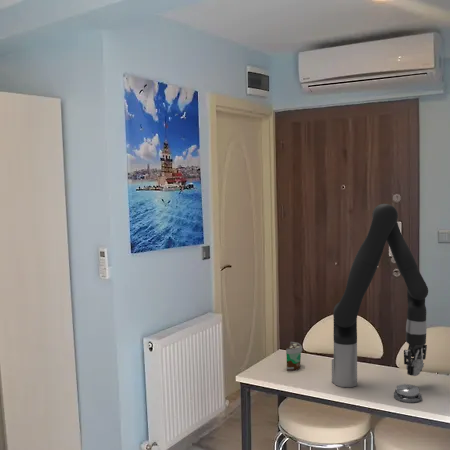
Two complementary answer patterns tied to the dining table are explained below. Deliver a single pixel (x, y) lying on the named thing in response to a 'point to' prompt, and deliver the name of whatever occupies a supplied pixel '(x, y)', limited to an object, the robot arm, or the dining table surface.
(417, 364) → the frog figurine
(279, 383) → the dining table surface
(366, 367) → the dining table surface
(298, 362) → the food container
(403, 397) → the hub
